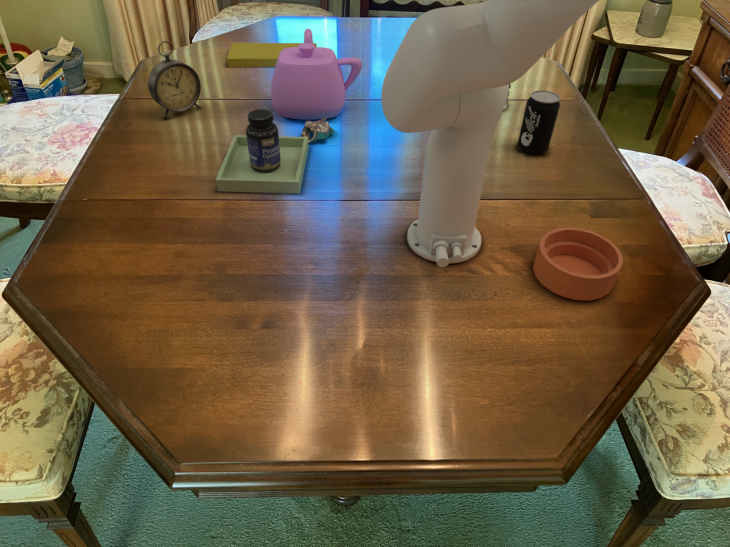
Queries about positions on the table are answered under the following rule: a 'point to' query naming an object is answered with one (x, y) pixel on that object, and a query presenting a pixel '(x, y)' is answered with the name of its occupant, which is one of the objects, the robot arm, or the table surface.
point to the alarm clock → (174, 84)
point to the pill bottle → (263, 141)
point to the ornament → (316, 130)
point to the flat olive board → (256, 54)
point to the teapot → (310, 81)
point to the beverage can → (538, 122)
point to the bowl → (577, 263)
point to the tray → (245, 179)
